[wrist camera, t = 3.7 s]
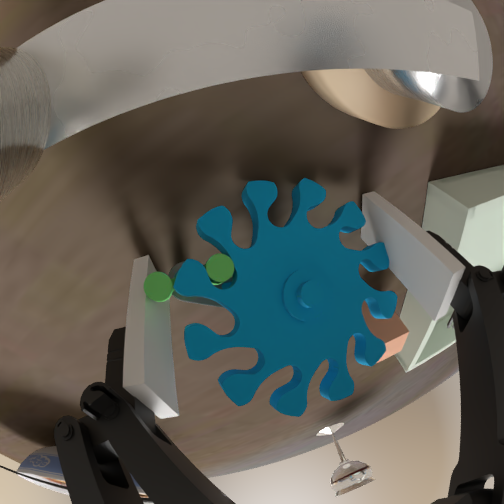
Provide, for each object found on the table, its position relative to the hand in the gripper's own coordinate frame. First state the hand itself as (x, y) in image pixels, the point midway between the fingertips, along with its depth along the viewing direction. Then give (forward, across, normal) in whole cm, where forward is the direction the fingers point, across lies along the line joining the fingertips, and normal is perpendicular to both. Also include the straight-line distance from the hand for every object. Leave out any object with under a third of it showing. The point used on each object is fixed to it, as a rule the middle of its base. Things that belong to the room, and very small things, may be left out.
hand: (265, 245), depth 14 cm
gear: (+1, 0, 0) cm, 1 cm away
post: (+1, -7, +8) cm, 11 cm away
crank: (-2, 0, -9) cm, 9 cm away
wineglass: (+1, -6, +40) cm, 40 cm away
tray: (0, -21, +8) cm, 22 cm away
